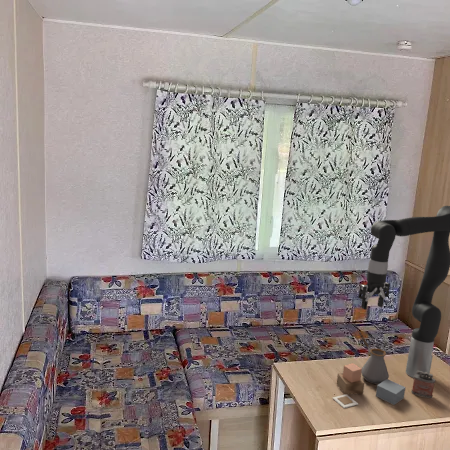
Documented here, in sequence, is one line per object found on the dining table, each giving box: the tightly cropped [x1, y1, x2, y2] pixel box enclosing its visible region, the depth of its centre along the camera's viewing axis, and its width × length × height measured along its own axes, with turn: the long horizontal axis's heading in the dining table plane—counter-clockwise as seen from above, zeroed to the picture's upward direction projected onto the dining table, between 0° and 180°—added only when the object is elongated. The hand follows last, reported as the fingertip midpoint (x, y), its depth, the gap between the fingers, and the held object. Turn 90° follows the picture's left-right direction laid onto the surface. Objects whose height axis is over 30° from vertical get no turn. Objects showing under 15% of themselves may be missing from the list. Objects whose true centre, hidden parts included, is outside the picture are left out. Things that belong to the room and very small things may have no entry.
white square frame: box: [331, 394, 359, 409], centre depth 192 cm, size 7×7×1 cm
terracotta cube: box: [342, 362, 362, 383], centre depth 199 cm, size 5×5×5 cm
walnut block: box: [336, 372, 365, 395], centre depth 201 cm, size 8×8×5 cm
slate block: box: [375, 378, 406, 406], centre depth 197 cm, size 8×8×5 cm
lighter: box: [411, 371, 436, 399], centre depth 200 cm, size 8×3×10 cm, turn 71°
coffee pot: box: [356, 331, 390, 385], centre depth 213 cm, size 21×12×15 cm, turn 17°
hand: (372, 307), depth 203 cm, fingers open, 8 cm apart
